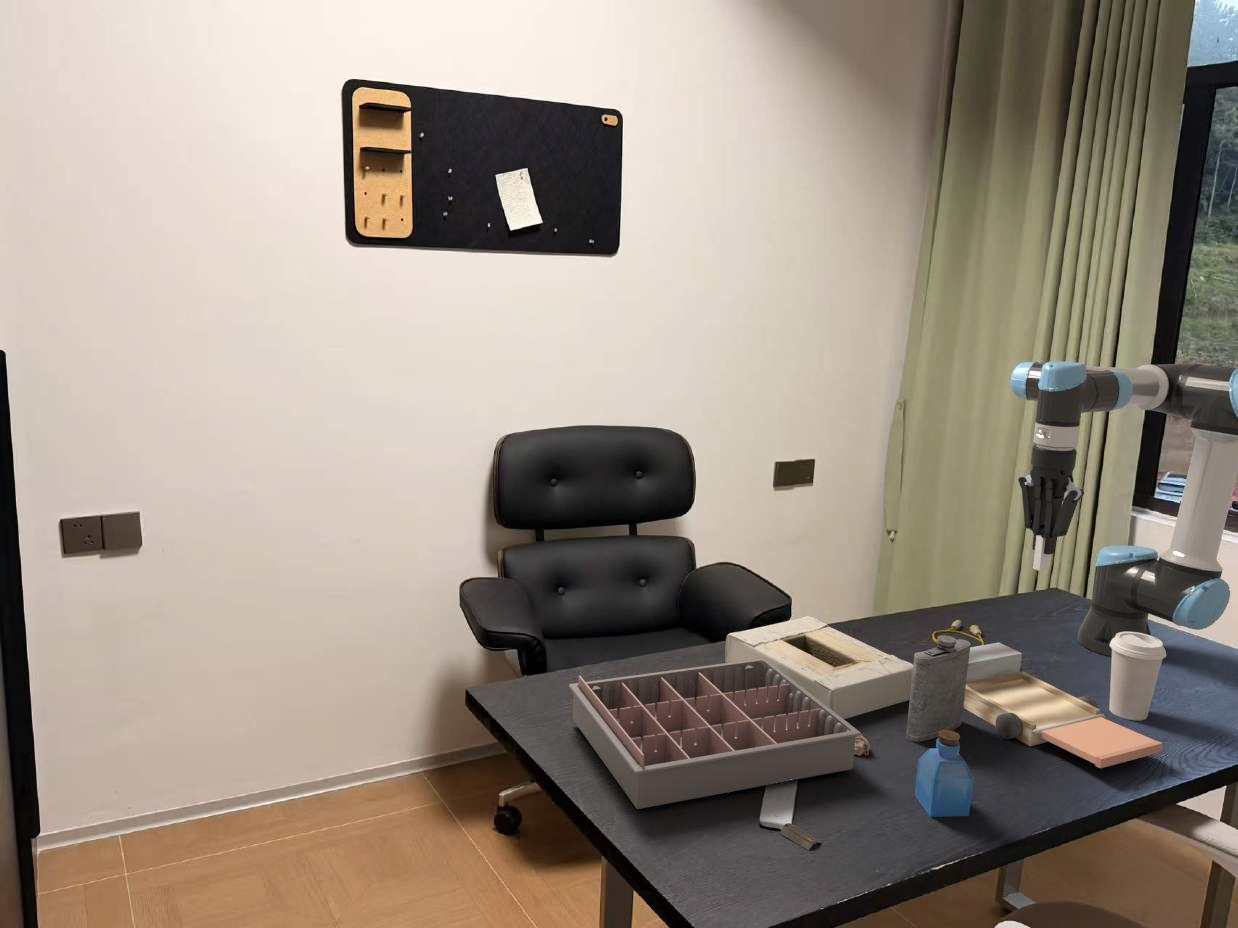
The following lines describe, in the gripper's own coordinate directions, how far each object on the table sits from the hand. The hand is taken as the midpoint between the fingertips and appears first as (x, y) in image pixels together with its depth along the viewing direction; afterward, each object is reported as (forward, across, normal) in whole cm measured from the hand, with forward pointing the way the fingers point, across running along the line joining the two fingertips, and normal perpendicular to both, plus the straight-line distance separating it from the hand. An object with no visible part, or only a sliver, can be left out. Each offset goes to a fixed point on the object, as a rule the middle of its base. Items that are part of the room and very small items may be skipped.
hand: (1041, 568), depth 184 cm
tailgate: (+24, +14, -6) cm, 28 cm away
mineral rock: (+27, -1, -44) cm, 52 cm away
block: (+27, +19, -69) cm, 76 cm away
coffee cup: (+28, +11, +15) cm, 34 cm away
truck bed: (+27, +1, -5) cm, 28 cm away
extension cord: (+28, -30, +13) cm, 43 cm away
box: (+27, -24, -32) cm, 49 cm away
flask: (+27, +2, -25) cm, 37 cm away
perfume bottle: (+27, +21, -43) cm, 55 cm away
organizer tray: (+26, -9, -68) cm, 73 cm away
